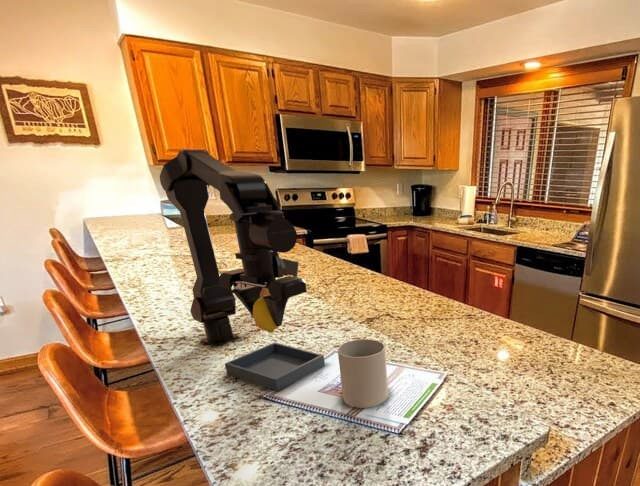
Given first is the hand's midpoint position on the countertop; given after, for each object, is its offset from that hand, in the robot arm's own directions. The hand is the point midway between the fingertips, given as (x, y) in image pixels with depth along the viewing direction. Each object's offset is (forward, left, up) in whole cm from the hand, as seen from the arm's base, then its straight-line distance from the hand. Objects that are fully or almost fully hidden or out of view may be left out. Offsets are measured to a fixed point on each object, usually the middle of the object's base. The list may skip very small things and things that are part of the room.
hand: (269, 323), depth 88 cm
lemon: (0, 0, -2) cm, 2 cm away
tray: (0, 0, -10) cm, 10 cm away
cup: (+24, 0, -11) cm, 27 cm away
